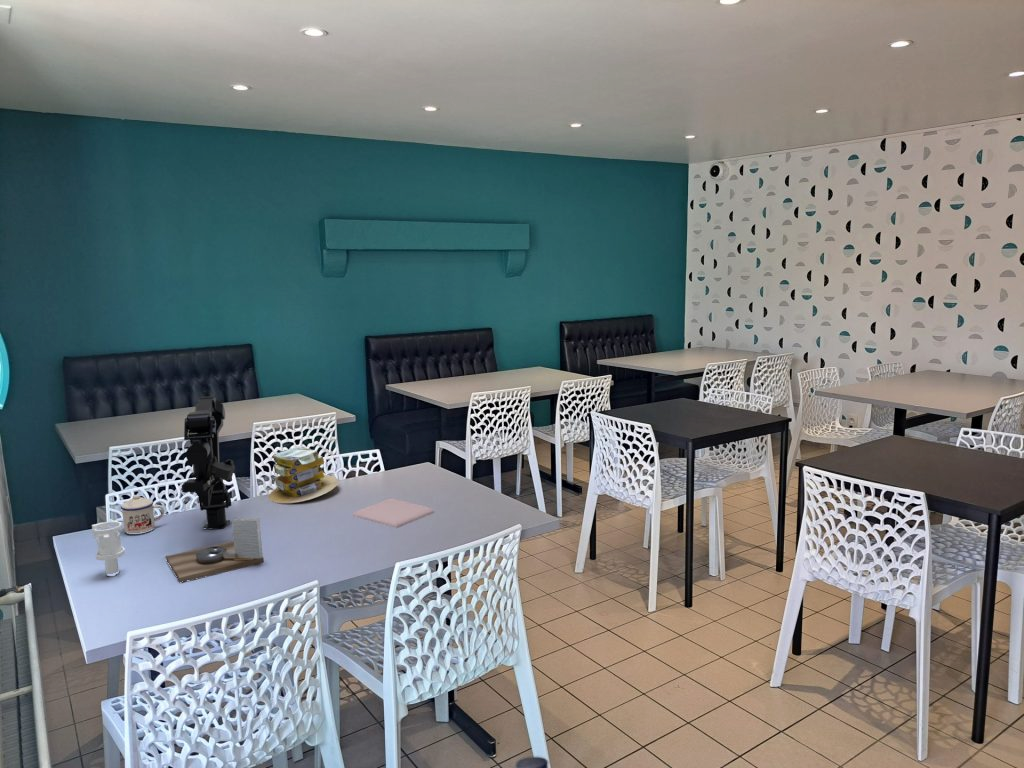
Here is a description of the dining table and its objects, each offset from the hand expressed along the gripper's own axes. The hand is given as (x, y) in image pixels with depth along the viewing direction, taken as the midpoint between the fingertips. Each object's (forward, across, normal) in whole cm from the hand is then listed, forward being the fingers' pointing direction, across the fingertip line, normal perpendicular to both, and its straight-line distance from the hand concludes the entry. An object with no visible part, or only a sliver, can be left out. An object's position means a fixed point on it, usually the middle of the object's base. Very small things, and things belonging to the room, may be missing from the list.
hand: (207, 506), depth 219 cm
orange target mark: (+11, -16, -15) cm, 24 cm away
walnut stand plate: (+12, -13, -6) cm, 19 cm away
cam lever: (+10, -15, -11) cm, 21 cm away
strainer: (+12, -20, +19) cm, 30 cm away
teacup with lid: (+12, +14, +26) cm, 32 cm away
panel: (+13, +18, -45) cm, 50 cm away
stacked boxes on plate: (+12, +48, -16) cm, 52 cm away
